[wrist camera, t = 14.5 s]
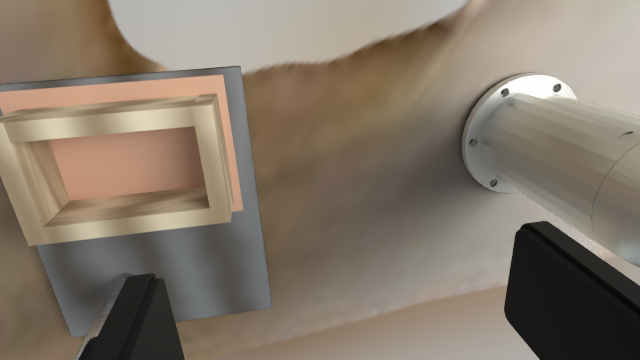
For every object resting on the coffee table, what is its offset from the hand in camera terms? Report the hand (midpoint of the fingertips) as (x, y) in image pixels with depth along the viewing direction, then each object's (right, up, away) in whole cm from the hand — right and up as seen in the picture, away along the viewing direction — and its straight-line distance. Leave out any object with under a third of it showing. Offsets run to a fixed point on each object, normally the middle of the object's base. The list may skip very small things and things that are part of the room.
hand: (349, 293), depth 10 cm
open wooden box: (-17, +5, +25) cm, 31 cm away
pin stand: (-17, 0, +28) cm, 33 cm away
